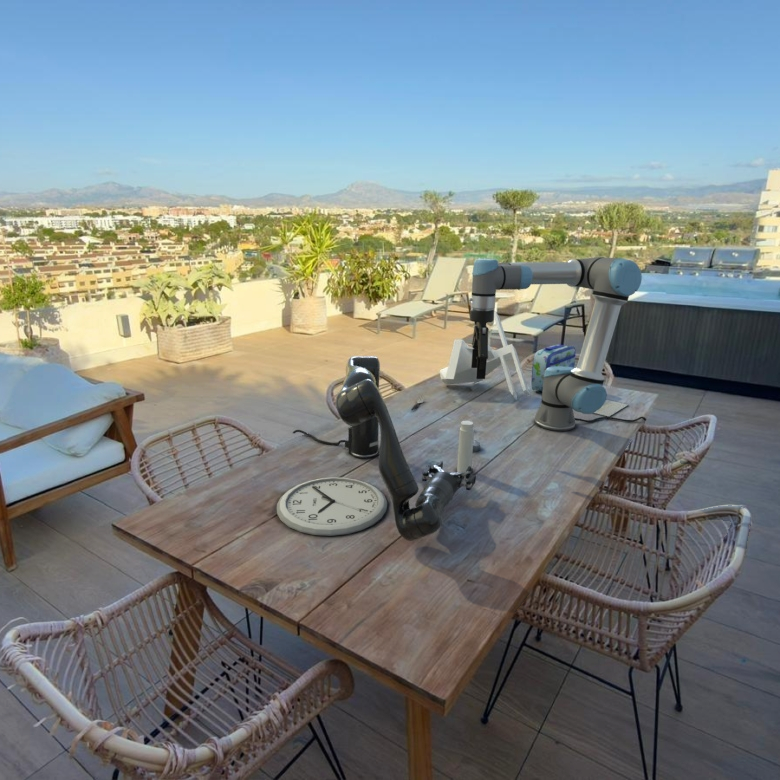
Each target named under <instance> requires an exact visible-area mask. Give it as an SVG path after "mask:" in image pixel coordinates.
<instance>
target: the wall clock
mask: <svg viewBox="0 0 780 780" xmlns="http://www.w3.org/2000/svg"><path fill="white" fill-rule="evenodd" d="M387 509H388V500H387V498H386V496H385V494H384V493H383V492H382V491H381V490H380V489H379V488H377V487H376V486H374V485H372V484H371V483H369V482H365V481H362V480H359V479H355V478H349V477H338V476H337V477H335V476H333V477H332V476H331V477H322V478H317V479H312V480H307V481H305V482H302V483H299V484H297V485H295V486H293V487H292V488H290V489H288V490H287V491H286V492H285V493H284V494H283V495H281V496H280V498H279V499H278V502H277V503H276V515H277V517H278V518H279V520H280V521H281V522H282V523H283V524H285V525H286V526H287V527H288V528H290V529H293V530H295V531H297V532H299V533H303V534H308V535H312V536H327V537H328V536H329V537H331V536H332V537H333V536H342V535H350V534H352V533H356V532H361V531H363V530H366V529H368V528H369V527H372V526H373V525H375V524H376V523H378V522H379V521H380V520H381V519H382V518H383V517H384V516H385V514H386V512H387Z"/></svg>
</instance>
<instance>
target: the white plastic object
mask: <svg viewBox="0 0 780 780" xmlns="http://www.w3.org/2000/svg"><path fill="white" fill-rule="evenodd" d="M494 321H495V324H496V325H495V326H496V328H497V332H498V335H499V338H500V342H501V345H502V347H500V348H498V349H496V350H495V349H493V348H492V347H491V346H490V344H489V343H488V359H487V361H486V374H485V377H486V376H487V375H489V374H490V373H492V372H494V371H495V370H496V369H497V368H499V367H500V366H502V370H503V373H504V376H505V380H506V383H507V386H508V390H509V393H510V394H511V395H512V397H513V398H514V399H515V400H517V392H516V391H517V390H516V388H515V385H514V381H513V378H512V375H511V371H510V369H509V365H508V361H510V360H513V363H514V366H515V369H516V372H517V376H518V380H519V382H520V385H521V389H522V391H523V393H524V395H525V396H526V397H528V396H531V395H530V390H529V388H528V387H529V386H528V384H527V381H526V378H525V375H524V371H523V369H522V368H523V367H522V366H521V362H520V359H519V355H518V352H517V349H516V347H515V346H514V345H513V343H511V344H508V341H507V337H506V334H505V331H504V328H503V325H502V321H501V318H500V315H499V314H498V312H497V311H496V310H494ZM473 349H474V348H473V347H472V346H469V345H468V343H466V342H465V340H464V339H463V338H460V339H458V338H454V340H453V344H452V349H451V353H450V357H449V362H448V366H446V367H444V368H442V369H440V370H439V371H438V372H439V376H440V381H442V383H443V384H444V385H445V386H449V385H458V384H467V383H468V384H469V383H473V384H477V383H480V382H482V381H484V379H476V375H477V368H471V365H472V350H473Z"/></svg>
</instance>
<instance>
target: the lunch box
mask: <svg viewBox="0 0 780 780" xmlns="http://www.w3.org/2000/svg"><path fill="white" fill-rule="evenodd" d="M576 357H577V355H576V347H575V346H569V345H565V344H554V345H550V346H547V347H544V348H542V349H541V348H540V349H539V350H537V351H536V352H535V353H534V356H533V360H532V367H531V368H532V369H531V382H530V383H531V386H530V387H531V389H532V390H533V391H537V392H542V391H543V382H544V374H545V370H546V369H547V368H549V367H556V366H563V367H573V368H575V364H576Z"/></svg>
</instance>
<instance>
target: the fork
mask: <svg viewBox="0 0 780 780" xmlns="http://www.w3.org/2000/svg"><path fill="white" fill-rule="evenodd" d="M425 397H426V396H423V395H420V396H419V397H418V398H417V401H416V402H417V403H415V404H414V405H413V406H412V408H411V409H410V410H411V411H413V410H415V409H416V408H417V407H418V405H419V404H423V403H424V401H425Z"/></svg>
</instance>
